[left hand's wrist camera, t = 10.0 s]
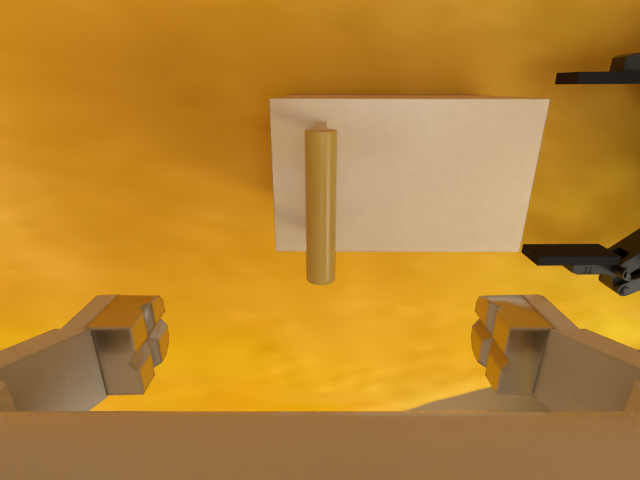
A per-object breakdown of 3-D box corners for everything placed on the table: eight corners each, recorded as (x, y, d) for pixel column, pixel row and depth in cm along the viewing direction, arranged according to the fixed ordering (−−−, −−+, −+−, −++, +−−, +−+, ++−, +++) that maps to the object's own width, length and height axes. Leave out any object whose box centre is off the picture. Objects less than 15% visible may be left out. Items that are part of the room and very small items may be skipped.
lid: (277, 245, 28) (260, 305, 20) (271, 97, 24) (248, 102, 17) (512, 246, 28) (584, 306, 20) (540, 98, 24) (642, 103, 17)
